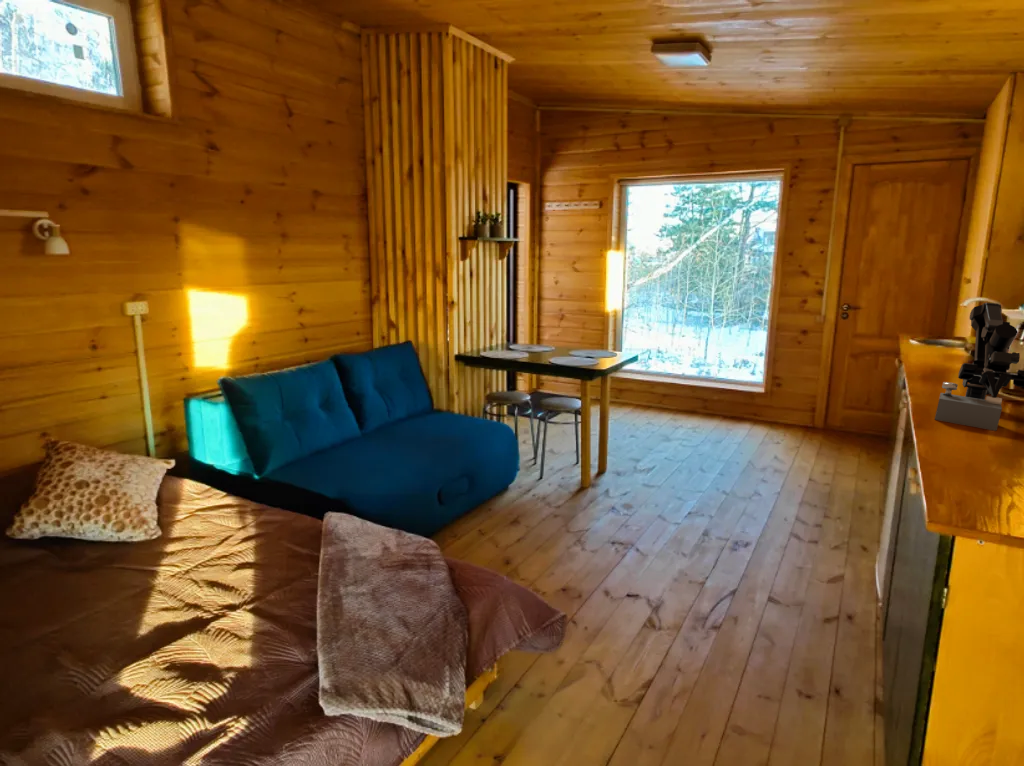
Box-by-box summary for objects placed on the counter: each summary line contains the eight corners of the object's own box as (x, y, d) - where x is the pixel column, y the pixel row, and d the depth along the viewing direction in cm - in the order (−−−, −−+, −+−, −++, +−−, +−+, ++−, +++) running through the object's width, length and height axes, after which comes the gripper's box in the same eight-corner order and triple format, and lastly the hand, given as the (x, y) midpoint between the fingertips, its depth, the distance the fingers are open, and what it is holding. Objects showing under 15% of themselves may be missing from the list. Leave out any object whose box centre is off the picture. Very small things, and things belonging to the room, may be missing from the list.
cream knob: (983, 407, 204) (986, 395, 203) (998, 410, 202) (1002, 397, 201) (983, 410, 201) (986, 397, 200) (999, 412, 199) (1002, 400, 198)
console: (936, 413, 212) (940, 392, 211) (995, 423, 204) (1000, 402, 202) (934, 419, 204) (939, 398, 203) (996, 430, 196) (1001, 408, 194)
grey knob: (940, 393, 210) (943, 381, 209) (955, 395, 208) (957, 383, 207) (940, 395, 207) (942, 383, 206) (954, 398, 205) (957, 385, 204)
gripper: (968, 338, 205) (966, 377, 198) (1040, 346, 197) (1041, 387, 190) (959, 358, 214) (956, 397, 207) (1028, 366, 206) (1028, 407, 199)
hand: (994, 396), depth 200 cm, fingers closed, pressing on cream knob
